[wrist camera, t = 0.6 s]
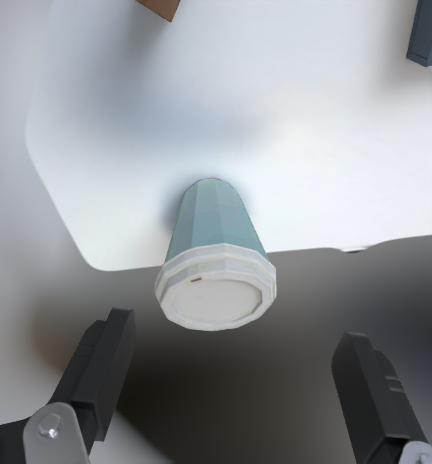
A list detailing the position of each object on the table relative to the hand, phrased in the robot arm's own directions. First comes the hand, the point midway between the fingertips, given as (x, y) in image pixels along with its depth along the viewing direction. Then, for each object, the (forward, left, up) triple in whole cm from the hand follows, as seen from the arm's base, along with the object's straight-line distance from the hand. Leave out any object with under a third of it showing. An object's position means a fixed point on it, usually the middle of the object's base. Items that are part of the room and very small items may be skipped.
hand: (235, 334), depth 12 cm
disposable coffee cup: (+11, -2, -24) cm, 26 cm away
